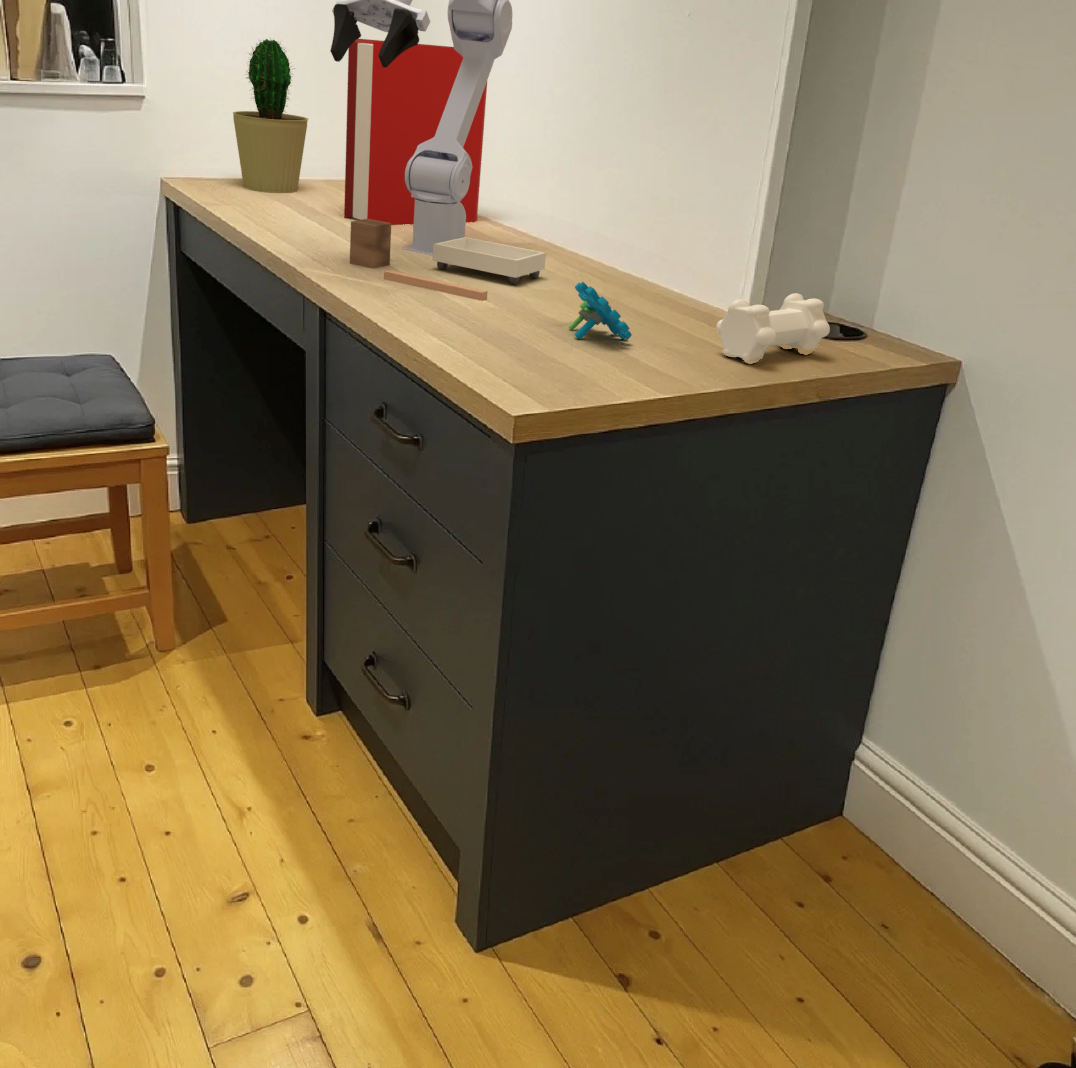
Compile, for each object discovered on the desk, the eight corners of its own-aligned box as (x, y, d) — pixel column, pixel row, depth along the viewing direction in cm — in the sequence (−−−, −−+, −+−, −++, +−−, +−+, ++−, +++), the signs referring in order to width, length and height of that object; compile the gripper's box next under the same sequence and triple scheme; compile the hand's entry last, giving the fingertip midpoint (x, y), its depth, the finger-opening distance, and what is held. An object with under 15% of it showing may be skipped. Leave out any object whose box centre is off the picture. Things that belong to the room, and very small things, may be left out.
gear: (645, 338, 145) (598, 281, 141) (612, 369, 145) (565, 313, 141) (615, 327, 155) (570, 273, 151) (585, 356, 155) (539, 304, 151)
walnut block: (366, 262, 179) (367, 218, 176) (389, 268, 177) (391, 223, 174) (349, 266, 175) (350, 221, 172) (373, 271, 173) (375, 226, 170)
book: (367, 226, 209) (373, 41, 195) (344, 218, 214) (348, 37, 201) (480, 221, 226) (493, 51, 212) (456, 214, 231) (467, 48, 218)
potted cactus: (322, 193, 238) (324, 41, 226) (260, 195, 228) (259, 36, 215) (280, 181, 248) (280, 35, 235) (219, 183, 237) (216, 30, 225)
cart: (463, 261, 185) (465, 236, 183) (543, 277, 179) (546, 252, 178) (432, 269, 177) (433, 243, 175) (514, 286, 171) (517, 260, 169)
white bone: (779, 347, 158) (786, 289, 155) (830, 358, 152) (837, 298, 149) (709, 358, 148) (715, 296, 146) (760, 369, 142) (767, 306, 140)
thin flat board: (460, 262, 186) (460, 253, 185) (550, 281, 179) (551, 271, 179) (383, 281, 167) (384, 271, 166) (481, 303, 161) (482, 292, 160)
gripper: (341, -40, 158) (303, 30, 154) (432, -31, 154) (395, 41, 149) (357, 2, 165) (321, 70, 160) (445, 11, 160) (410, 81, 156)
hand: (358, 58), depth 155 cm, fingers open, 7 cm apart
